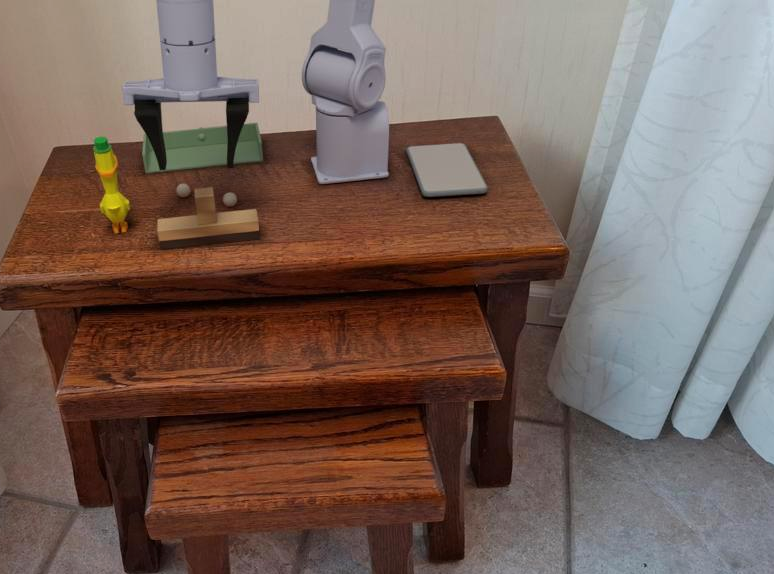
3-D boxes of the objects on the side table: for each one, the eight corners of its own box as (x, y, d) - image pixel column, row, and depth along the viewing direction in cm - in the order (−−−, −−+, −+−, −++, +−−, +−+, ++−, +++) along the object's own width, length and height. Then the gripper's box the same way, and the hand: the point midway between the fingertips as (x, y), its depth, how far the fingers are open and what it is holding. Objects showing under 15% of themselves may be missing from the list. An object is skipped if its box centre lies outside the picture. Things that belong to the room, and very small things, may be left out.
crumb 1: (190, 193, 103) (189, 180, 102) (191, 199, 101) (189, 186, 100) (177, 194, 103) (175, 181, 102) (177, 200, 101) (175, 188, 100)
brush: (257, 227, 94) (254, 180, 90) (260, 239, 92) (256, 192, 88) (160, 237, 94) (152, 191, 90) (160, 250, 92) (152, 203, 88)
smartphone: (464, 142, 108) (489, 188, 96) (464, 148, 108) (488, 195, 97) (405, 145, 108) (423, 192, 96) (405, 152, 108) (422, 200, 97)
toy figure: (106, 217, 99) (86, 126, 91) (134, 213, 99) (116, 123, 91) (106, 243, 94) (84, 149, 86) (135, 239, 94) (116, 145, 86)
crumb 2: (237, 202, 100) (235, 189, 99) (238, 208, 99) (236, 195, 97) (223, 203, 100) (222, 190, 99) (224, 209, 99) (222, 197, 97)
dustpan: (263, 161, 109) (261, 142, 107) (145, 173, 108) (142, 154, 107) (257, 135, 116) (256, 116, 114) (147, 146, 116) (144, 128, 114)
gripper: (112, 50, 76) (129, 181, 84) (258, 48, 76) (260, 178, 85) (121, 33, 82) (136, 157, 90) (257, 30, 82) (259, 154, 90)
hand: (196, 166), depth 88 cm, fingers open, 7 cm apart
